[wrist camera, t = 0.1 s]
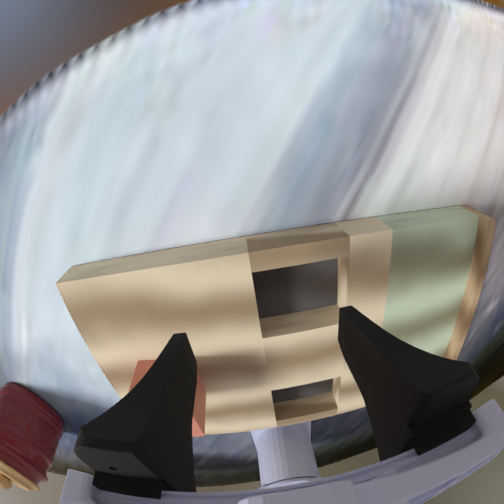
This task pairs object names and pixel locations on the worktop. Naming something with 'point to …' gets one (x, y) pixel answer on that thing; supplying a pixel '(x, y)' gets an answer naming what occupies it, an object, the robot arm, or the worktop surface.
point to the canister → (26, 437)
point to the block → (200, 396)
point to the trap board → (284, 308)
